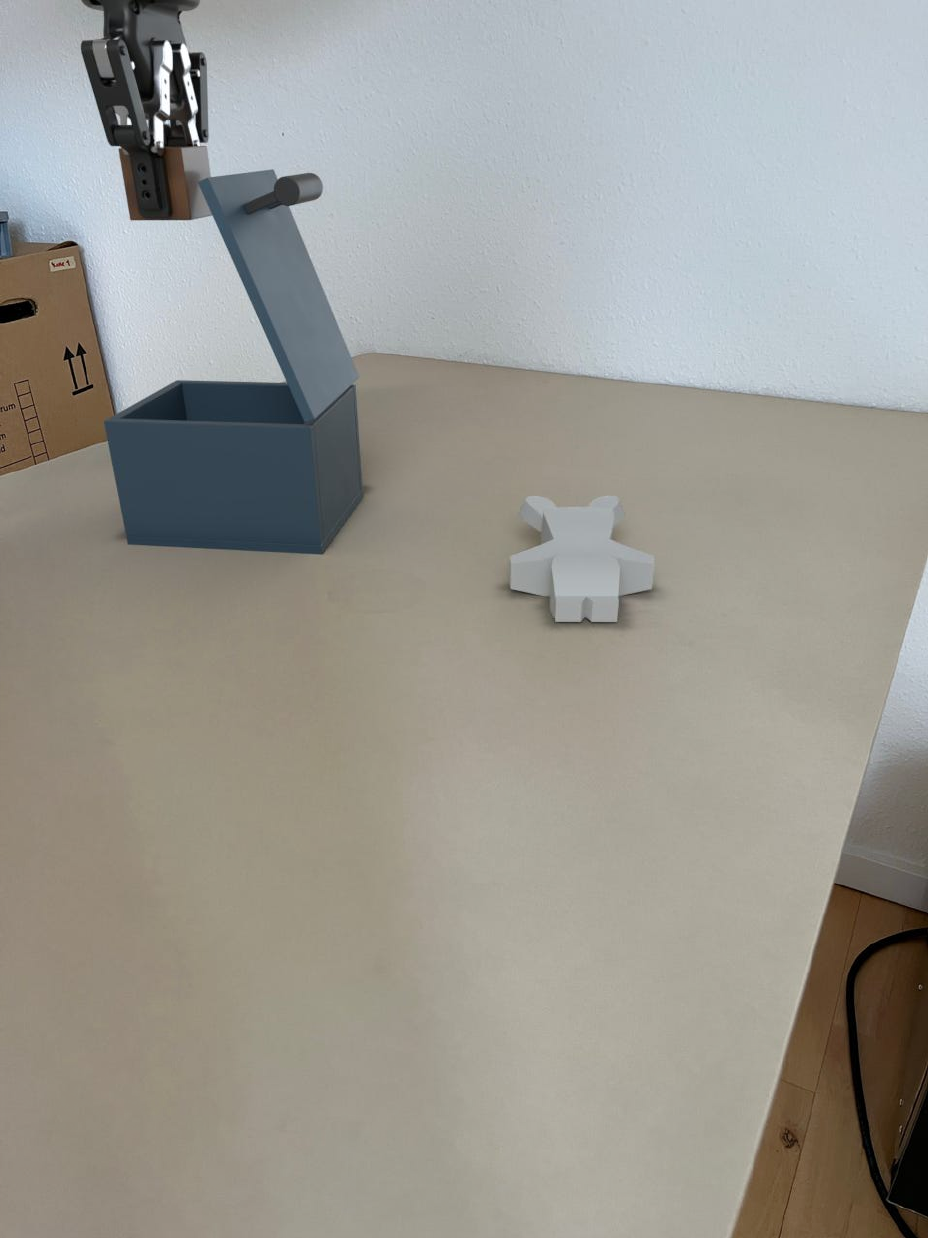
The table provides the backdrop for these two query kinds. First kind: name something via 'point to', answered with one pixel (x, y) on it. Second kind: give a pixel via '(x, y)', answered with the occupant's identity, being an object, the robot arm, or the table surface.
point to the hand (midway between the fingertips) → (172, 212)
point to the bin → (235, 468)
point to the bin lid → (283, 280)
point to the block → (175, 182)
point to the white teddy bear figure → (579, 560)
